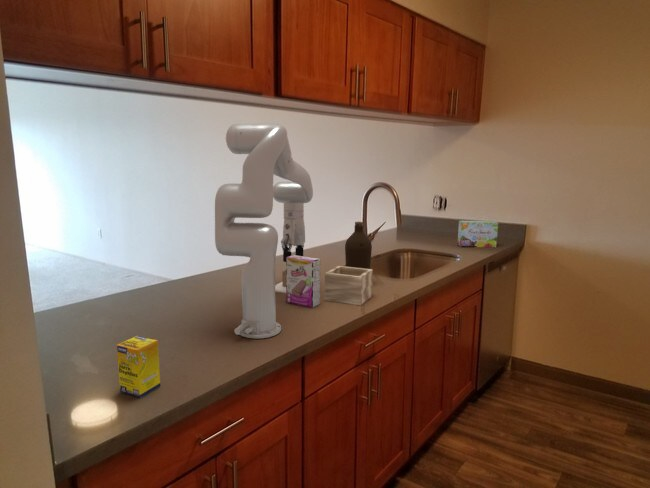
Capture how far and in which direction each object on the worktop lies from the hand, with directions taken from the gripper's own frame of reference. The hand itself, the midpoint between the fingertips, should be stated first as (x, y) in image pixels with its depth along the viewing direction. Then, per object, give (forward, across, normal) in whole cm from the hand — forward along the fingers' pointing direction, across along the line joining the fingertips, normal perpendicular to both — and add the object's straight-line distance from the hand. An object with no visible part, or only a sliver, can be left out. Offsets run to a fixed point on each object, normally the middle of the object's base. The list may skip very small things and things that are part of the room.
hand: (293, 259), depth 174 cm
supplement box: (+14, -83, -7) cm, 84 cm away
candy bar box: (+12, -15, -12) cm, 23 cm away
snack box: (+8, +123, -55) cm, 135 cm away
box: (+12, -2, -24) cm, 26 cm away
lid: (+12, +1, 0) cm, 12 cm away
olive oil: (+11, +18, -20) cm, 29 cm away
